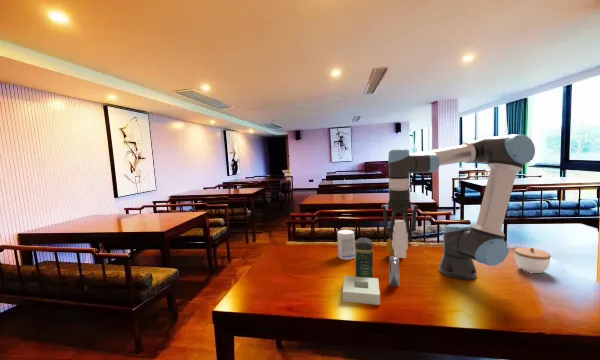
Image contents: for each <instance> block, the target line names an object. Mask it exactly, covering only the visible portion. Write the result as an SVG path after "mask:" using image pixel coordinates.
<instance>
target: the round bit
mask: <svg viewBox="0 0 600 360" xmlns="http://www.w3.org/2000/svg"><path fill="white" fill-rule="evenodd" d="M388 259H389V262H388V263H389V267H388V268H389V285H390V286H391V287H400V258H398V257H395V256H391V255H390V256H389V258H388Z"/></svg>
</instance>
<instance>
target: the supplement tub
mask: <svg viewBox="0 0 600 360" xmlns="http://www.w3.org/2000/svg"><path fill="white" fill-rule="evenodd" d="M336 235H337V237H336V238H337V256H338V258H339V259H340V260H344V261H345V260H346V261H349V260H354V259H356V258H355V242H356V240H355V231H353V230H352V229H341V230H338V231H337V233H336Z"/></svg>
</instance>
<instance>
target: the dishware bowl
mask: <svg viewBox="0 0 600 360" xmlns="http://www.w3.org/2000/svg"><path fill="white" fill-rule="evenodd" d="M514 259H515V262H516V264H517V265H518V267H519V268H520V269H521V270H522V269H523V270H525V271H527V272H526V273H528V272H532V273H541V274H543V272H546V271H547V270H548V269H549V266H550V263H551V253H549V252H547V251H546V250H545V251H544V250H542V249H537V248H534V247H515V249H514ZM523 270H522V271H523ZM525 271H524V272H525ZM532 273H531V274H532Z"/></svg>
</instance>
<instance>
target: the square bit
mask: <svg viewBox="0 0 600 360" xmlns="http://www.w3.org/2000/svg"><path fill="white" fill-rule="evenodd" d="M393 231H394V232H395V249H394V255H395V257H398V258H399V259H400V258H401V259H403V258H405V259H406V258H407V249H406V231H407V229H406V222H405V221H404V219H395V223H394V228H393Z"/></svg>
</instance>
